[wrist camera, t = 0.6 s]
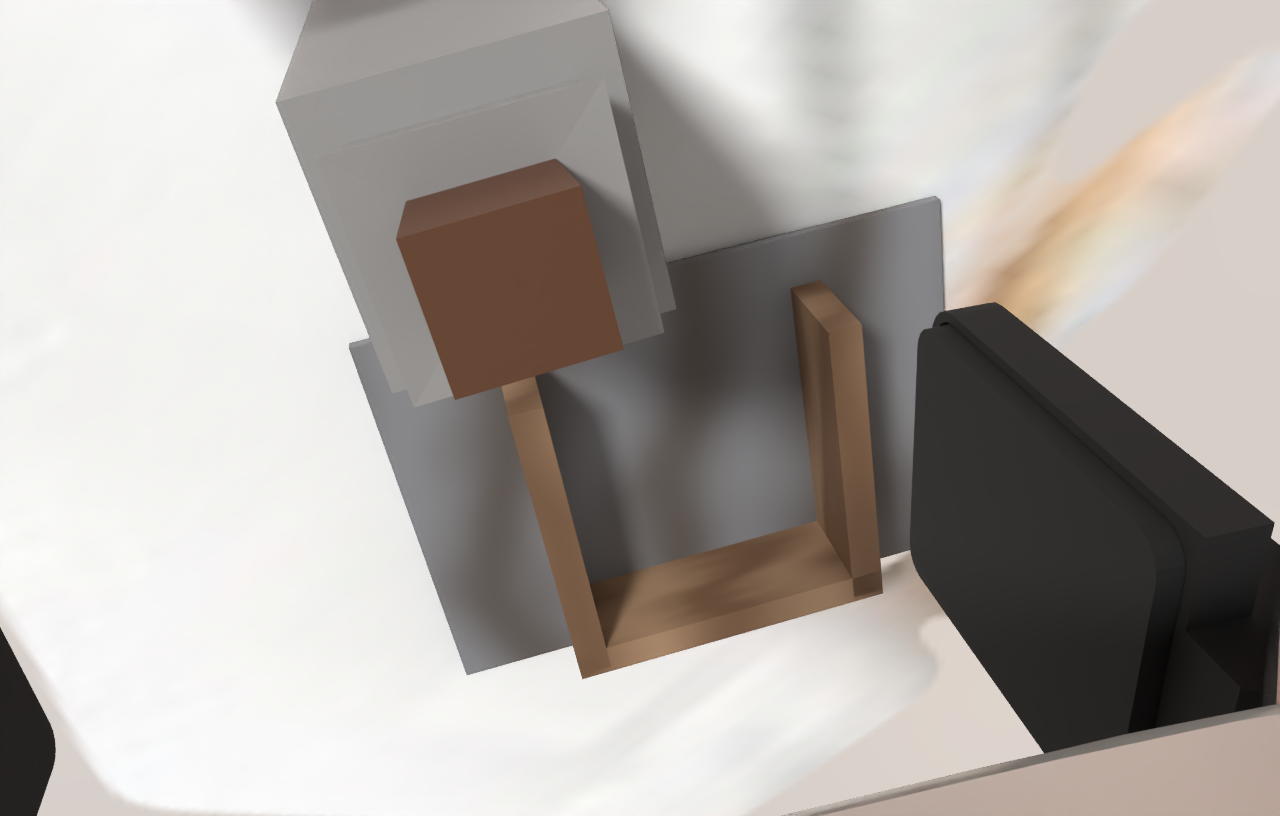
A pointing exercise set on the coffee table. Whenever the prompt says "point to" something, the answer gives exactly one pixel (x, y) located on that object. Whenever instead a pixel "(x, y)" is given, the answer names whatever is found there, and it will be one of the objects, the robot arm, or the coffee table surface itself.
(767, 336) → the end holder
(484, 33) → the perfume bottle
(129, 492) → the coffee table surface
